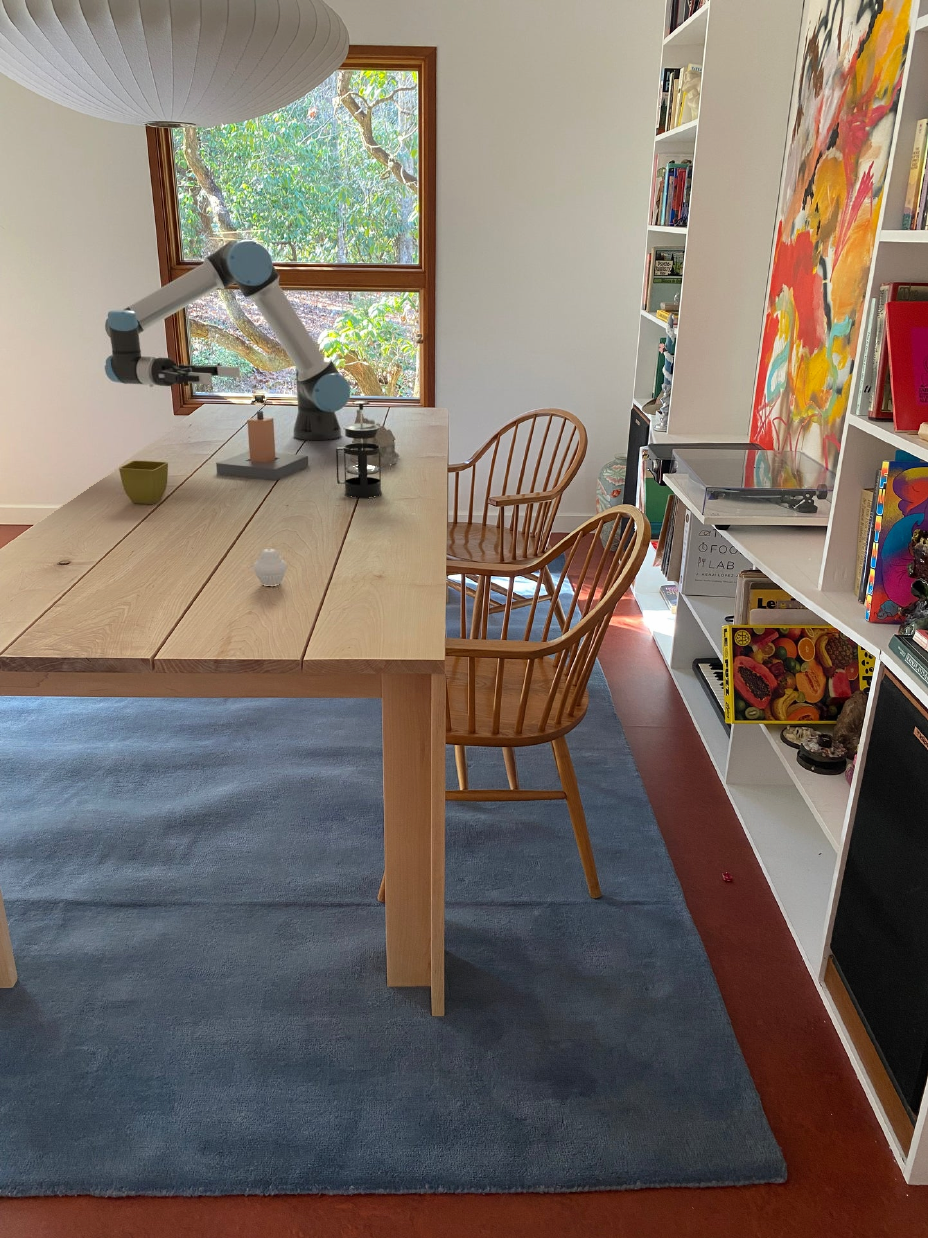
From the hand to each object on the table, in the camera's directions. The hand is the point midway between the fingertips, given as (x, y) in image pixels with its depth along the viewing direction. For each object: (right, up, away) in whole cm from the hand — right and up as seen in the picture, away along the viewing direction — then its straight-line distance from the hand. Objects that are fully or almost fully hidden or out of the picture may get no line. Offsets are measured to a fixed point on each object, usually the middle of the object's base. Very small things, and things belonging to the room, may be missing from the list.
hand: (225, 375), depth 252 cm
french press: (+38, -34, -15) cm, 53 cm away
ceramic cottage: (+39, -19, +21) cm, 49 cm away
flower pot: (-12, -37, -26) cm, 47 cm away
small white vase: (+28, -59, -77) cm, 101 cm away
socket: (+9, -24, +6) cm, 27 cm away
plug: (+9, -24, +6) cm, 27 cm away
